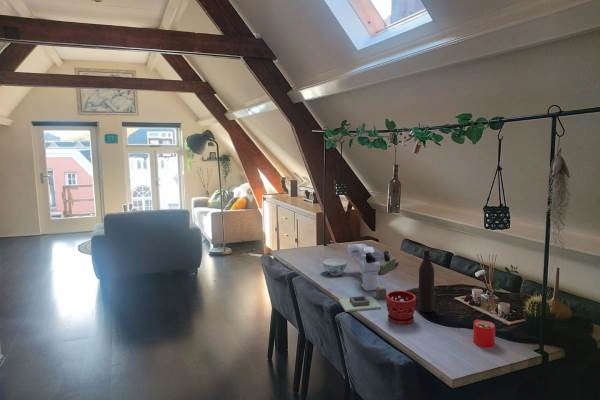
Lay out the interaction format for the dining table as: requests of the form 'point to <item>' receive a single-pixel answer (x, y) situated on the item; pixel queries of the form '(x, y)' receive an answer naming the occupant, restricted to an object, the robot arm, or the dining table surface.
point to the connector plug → (381, 292)
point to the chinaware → (335, 266)
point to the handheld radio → (387, 266)
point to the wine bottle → (426, 284)
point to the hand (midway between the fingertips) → (381, 259)
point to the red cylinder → (484, 333)
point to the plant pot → (400, 307)
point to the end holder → (359, 303)
